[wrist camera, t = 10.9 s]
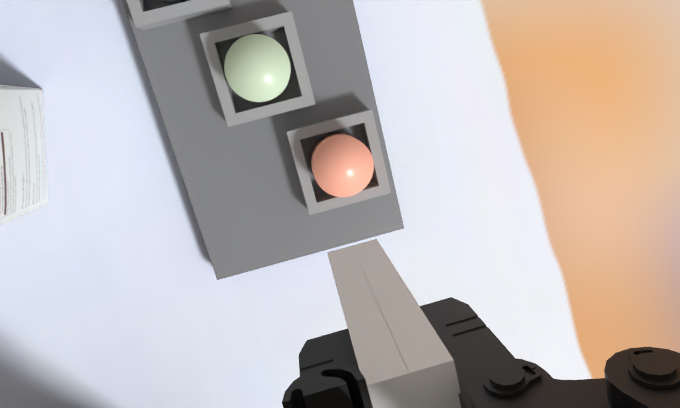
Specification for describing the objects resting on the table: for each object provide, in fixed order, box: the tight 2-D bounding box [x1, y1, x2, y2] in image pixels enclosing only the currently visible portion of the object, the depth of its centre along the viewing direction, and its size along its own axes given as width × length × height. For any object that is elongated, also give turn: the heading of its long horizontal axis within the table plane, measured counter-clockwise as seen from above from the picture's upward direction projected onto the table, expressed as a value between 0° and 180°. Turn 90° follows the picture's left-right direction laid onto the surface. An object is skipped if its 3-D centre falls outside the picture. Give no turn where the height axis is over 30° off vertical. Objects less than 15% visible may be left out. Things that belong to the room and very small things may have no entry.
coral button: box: [310, 133, 374, 197], centre depth 36 cm, size 4×4×4 cm
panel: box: [122, 0, 404, 280], centre depth 36 cm, size 16×30×4 cm, turn 14°
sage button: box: [224, 34, 291, 102], centre depth 34 cm, size 4×4×4 cm
